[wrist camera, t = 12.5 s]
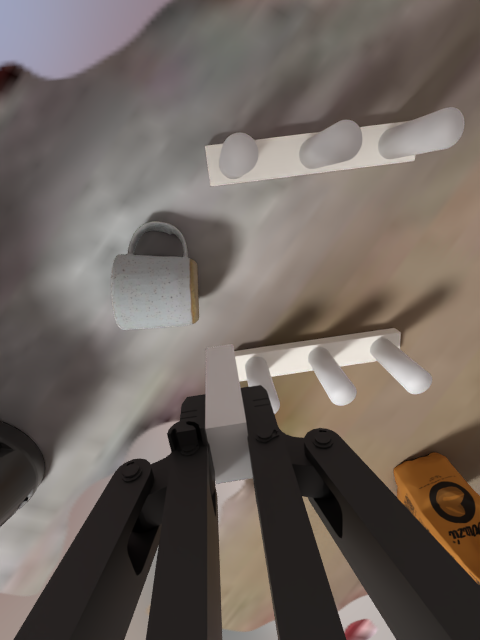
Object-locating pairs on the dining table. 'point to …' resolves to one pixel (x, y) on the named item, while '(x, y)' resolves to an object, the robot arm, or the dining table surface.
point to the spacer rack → (317, 157)
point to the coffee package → (443, 507)
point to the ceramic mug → (154, 286)
